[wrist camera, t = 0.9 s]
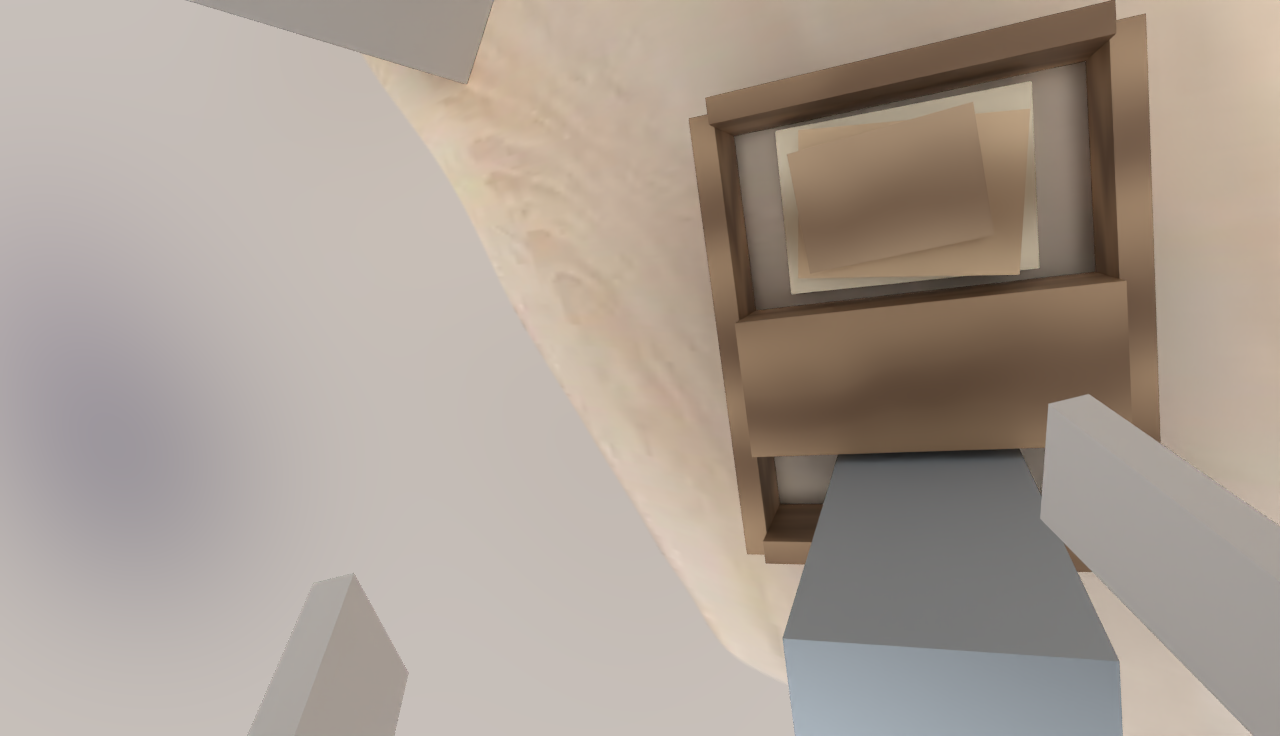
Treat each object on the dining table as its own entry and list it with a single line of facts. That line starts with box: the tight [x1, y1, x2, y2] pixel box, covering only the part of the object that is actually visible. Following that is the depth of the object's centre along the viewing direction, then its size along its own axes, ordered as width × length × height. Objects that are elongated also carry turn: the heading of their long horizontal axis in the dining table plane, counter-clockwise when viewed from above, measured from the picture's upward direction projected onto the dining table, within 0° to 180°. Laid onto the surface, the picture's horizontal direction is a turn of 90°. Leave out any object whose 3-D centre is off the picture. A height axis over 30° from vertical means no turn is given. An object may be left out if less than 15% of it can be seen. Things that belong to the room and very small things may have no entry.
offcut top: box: [787, 102, 994, 274], centre depth 28 cm, size 5×7×2 cm
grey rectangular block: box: [783, 449, 1123, 736], centre depth 27 cm, size 4×8×20 cm, turn 99°
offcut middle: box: [798, 109, 1030, 278], centre depth 31 cm, size 6×9×3 cm
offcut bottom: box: [775, 81, 1039, 294], centre depth 34 cm, size 8×11×3 cm
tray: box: [689, 0, 1160, 572], centre depth 33 cm, size 23×18×5 cm
